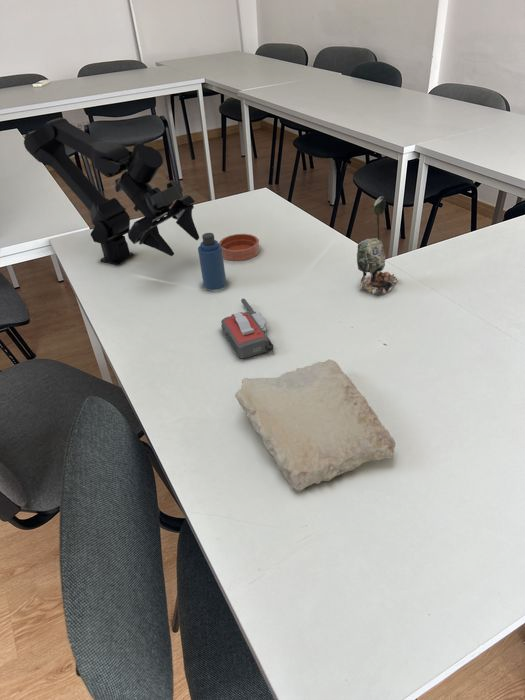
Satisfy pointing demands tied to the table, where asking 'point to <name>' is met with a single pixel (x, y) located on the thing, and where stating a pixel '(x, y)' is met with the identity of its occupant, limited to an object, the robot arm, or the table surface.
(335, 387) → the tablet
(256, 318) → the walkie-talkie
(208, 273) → the blue bottle
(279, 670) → the table surface
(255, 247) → the dish
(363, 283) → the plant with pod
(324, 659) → the table surface
